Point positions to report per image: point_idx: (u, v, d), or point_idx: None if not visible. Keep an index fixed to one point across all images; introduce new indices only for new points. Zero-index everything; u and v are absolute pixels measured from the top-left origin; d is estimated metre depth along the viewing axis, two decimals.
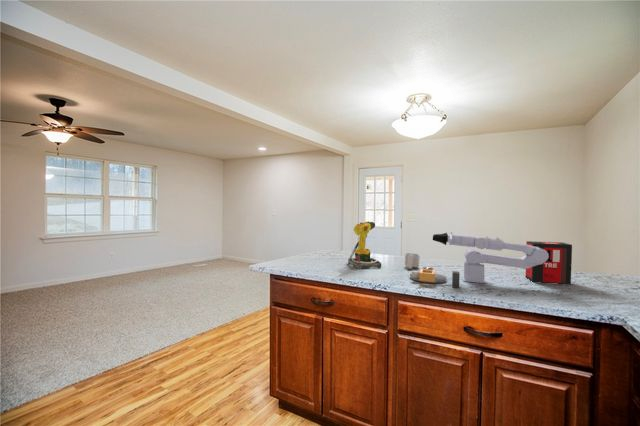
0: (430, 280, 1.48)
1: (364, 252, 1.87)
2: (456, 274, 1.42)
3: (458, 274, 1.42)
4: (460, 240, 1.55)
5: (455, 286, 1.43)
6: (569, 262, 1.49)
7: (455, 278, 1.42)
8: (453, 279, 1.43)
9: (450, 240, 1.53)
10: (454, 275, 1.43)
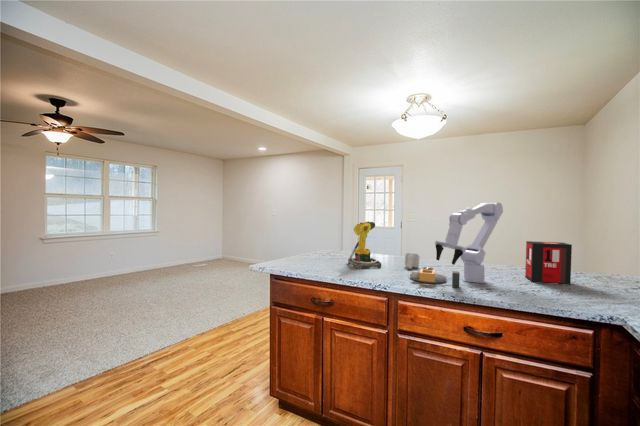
0: (430, 280, 1.48)
1: (364, 252, 1.87)
2: (456, 274, 1.42)
3: (458, 274, 1.42)
4: (458, 237, 1.47)
5: (455, 286, 1.43)
6: (569, 262, 1.49)
7: (455, 278, 1.42)
8: (453, 279, 1.43)
9: (465, 249, 1.43)
10: (454, 275, 1.43)
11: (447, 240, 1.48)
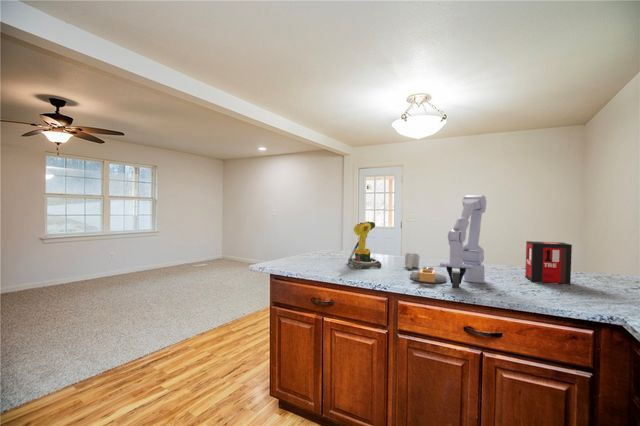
0: (430, 280, 1.48)
1: (364, 252, 1.87)
2: (456, 274, 1.42)
3: (458, 274, 1.42)
4: (462, 256, 1.43)
5: (455, 286, 1.43)
6: (569, 262, 1.49)
7: (455, 277, 1.42)
8: (453, 279, 1.43)
9: (473, 267, 1.41)
10: (454, 275, 1.43)
11: (454, 262, 1.42)
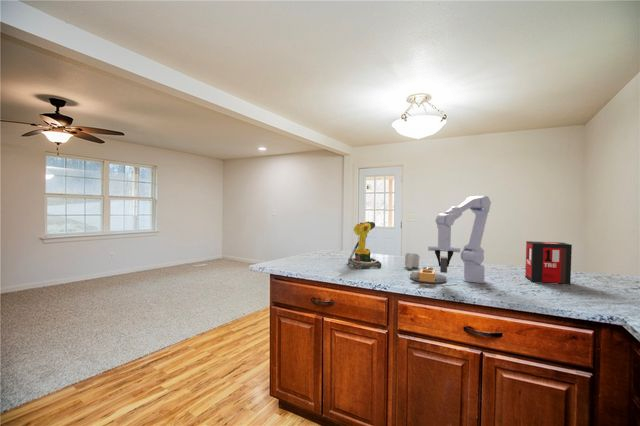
0: (430, 280, 1.48)
1: (364, 252, 1.87)
2: (444, 259, 1.45)
3: (446, 259, 1.44)
4: (450, 239, 1.46)
5: (443, 271, 1.45)
6: (569, 262, 1.49)
7: (443, 262, 1.45)
8: (441, 264, 1.45)
9: (460, 249, 1.44)
10: (442, 260, 1.45)
11: (442, 245, 1.45)
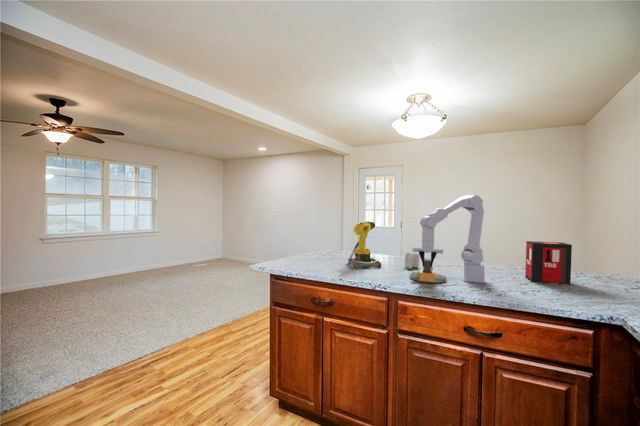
0: (430, 280, 1.48)
1: (364, 252, 1.87)
2: (427, 261, 1.49)
3: (429, 261, 1.49)
4: (433, 240, 1.50)
5: (426, 272, 1.50)
6: (569, 262, 1.49)
7: (427, 264, 1.49)
8: (424, 266, 1.50)
9: None
10: (425, 262, 1.49)
11: (425, 247, 1.50)
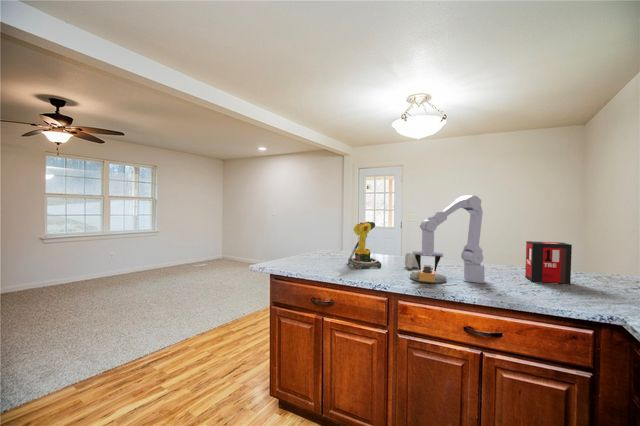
0: (430, 280, 1.48)
1: (364, 252, 1.87)
2: (427, 267, 1.49)
3: (429, 267, 1.49)
4: (433, 244, 1.50)
5: None
6: (569, 262, 1.49)
7: (427, 271, 1.50)
8: (424, 272, 1.50)
9: None
10: (425, 268, 1.50)
11: (425, 250, 1.50)
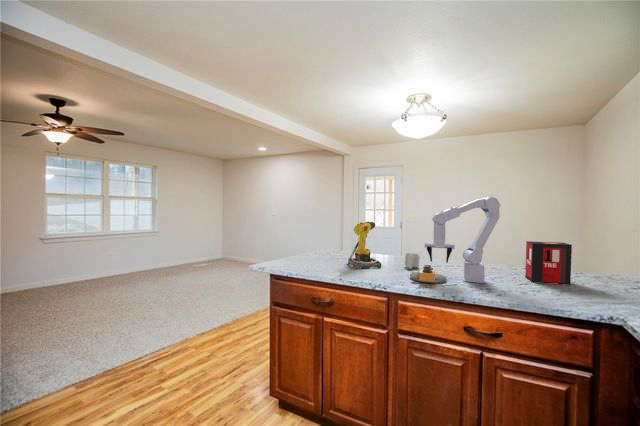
0: (430, 280, 1.48)
1: (364, 252, 1.87)
2: (427, 267, 1.49)
3: (429, 267, 1.49)
4: None
5: None
6: (569, 262, 1.49)
7: (427, 271, 1.50)
8: (424, 272, 1.50)
9: (454, 246, 1.55)
10: (425, 268, 1.50)
11: (437, 242, 1.55)
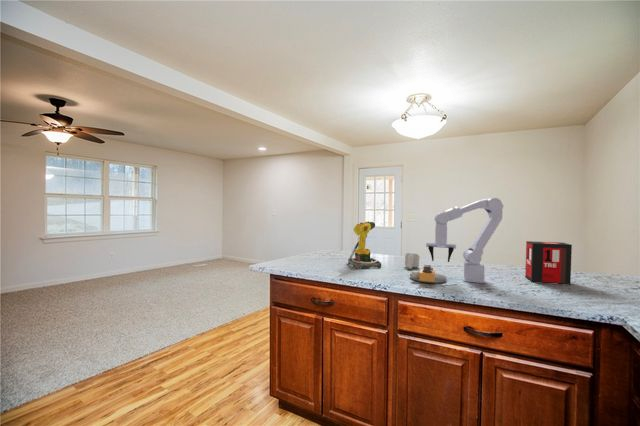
0: (430, 280, 1.48)
1: (364, 252, 1.87)
2: (427, 267, 1.49)
3: (429, 267, 1.49)
4: (446, 236, 1.57)
5: None
6: (569, 262, 1.49)
7: (427, 271, 1.50)
8: (424, 272, 1.50)
9: None
10: (425, 268, 1.50)
11: (438, 242, 1.57)
